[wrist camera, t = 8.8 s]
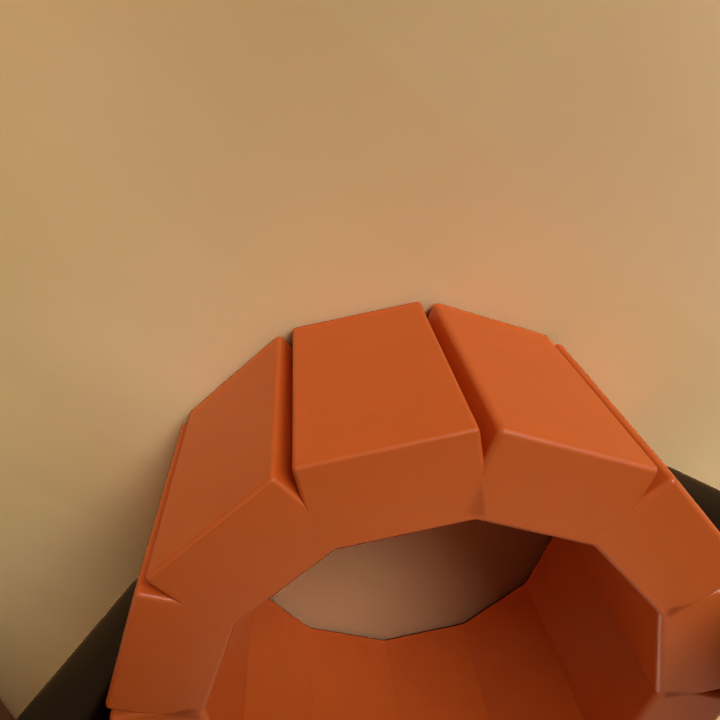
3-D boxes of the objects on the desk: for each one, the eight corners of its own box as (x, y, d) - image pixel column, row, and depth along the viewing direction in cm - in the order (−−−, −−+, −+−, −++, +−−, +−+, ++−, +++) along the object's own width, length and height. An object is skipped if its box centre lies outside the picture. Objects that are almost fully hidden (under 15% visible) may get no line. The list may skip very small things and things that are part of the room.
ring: (625, 629, 11) (729, 815, 9) (239, 711, 11) (222, 921, 9) (620, 255, 8) (780, 363, 6) (90, 371, 8) (-7, 532, 6)
